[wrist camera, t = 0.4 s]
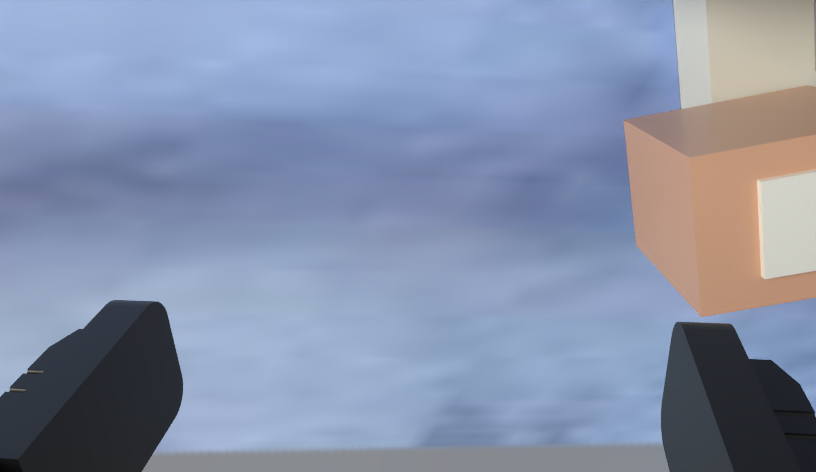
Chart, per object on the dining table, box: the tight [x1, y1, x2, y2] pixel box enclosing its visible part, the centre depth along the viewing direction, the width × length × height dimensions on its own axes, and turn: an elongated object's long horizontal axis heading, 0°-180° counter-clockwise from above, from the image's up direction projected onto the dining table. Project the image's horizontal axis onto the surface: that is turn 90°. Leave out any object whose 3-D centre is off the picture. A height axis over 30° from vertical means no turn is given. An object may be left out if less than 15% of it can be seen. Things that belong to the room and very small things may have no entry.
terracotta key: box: [624, 85, 816, 317], centre depth 28 cm, size 6×8×8 cm
